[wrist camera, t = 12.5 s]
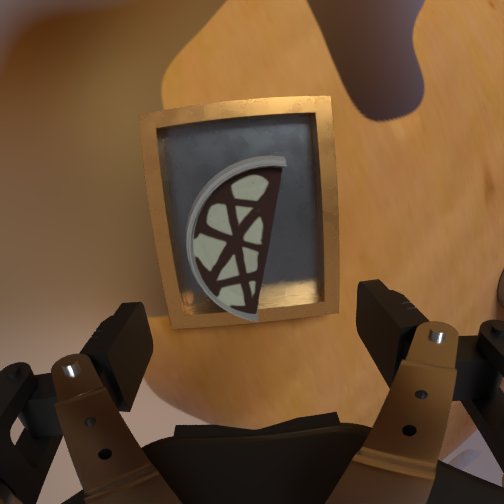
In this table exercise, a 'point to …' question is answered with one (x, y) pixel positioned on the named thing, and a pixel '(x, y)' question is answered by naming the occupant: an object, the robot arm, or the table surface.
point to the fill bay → (287, 208)
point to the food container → (234, 232)
